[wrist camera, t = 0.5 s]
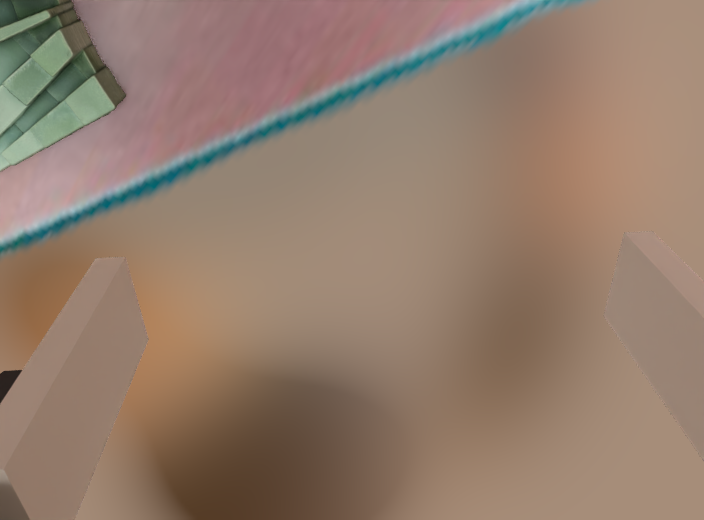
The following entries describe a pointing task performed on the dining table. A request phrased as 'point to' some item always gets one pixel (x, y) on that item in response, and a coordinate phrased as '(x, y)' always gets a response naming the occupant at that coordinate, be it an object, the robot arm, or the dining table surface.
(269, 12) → the dining table surface
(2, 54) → the green curved brick section
